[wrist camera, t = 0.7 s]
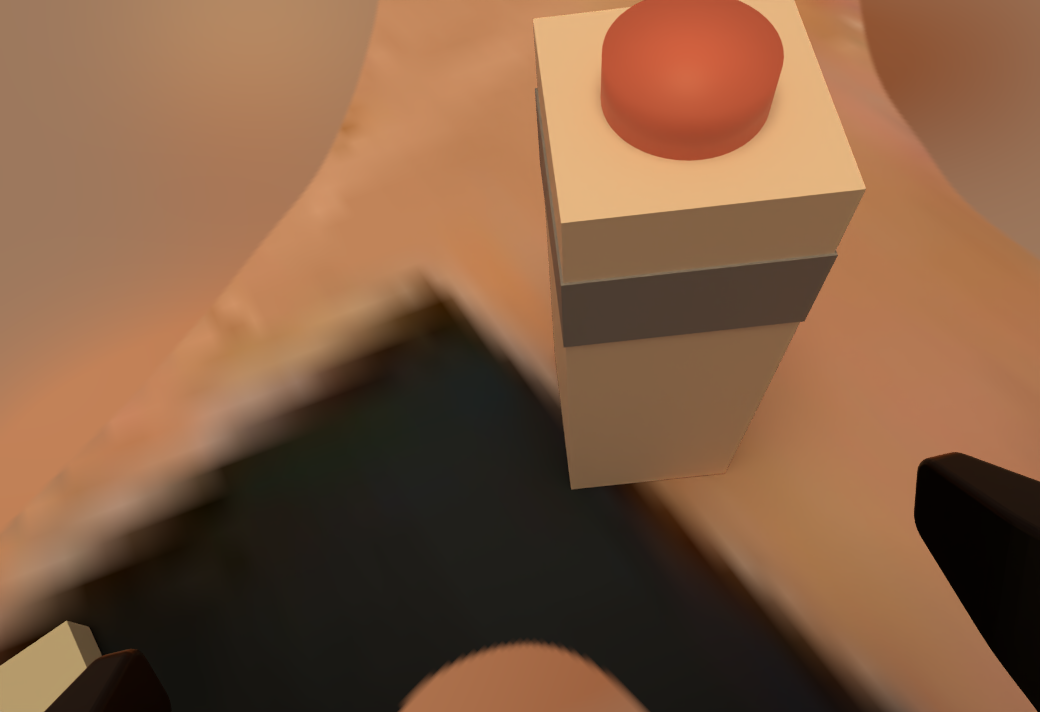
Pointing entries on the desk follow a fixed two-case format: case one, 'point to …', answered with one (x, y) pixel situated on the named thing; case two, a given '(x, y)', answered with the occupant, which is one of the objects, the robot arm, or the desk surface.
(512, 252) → the desk surface
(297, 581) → the desk surface
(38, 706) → the jig
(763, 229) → the tapered square pillar
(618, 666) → the desk surface
